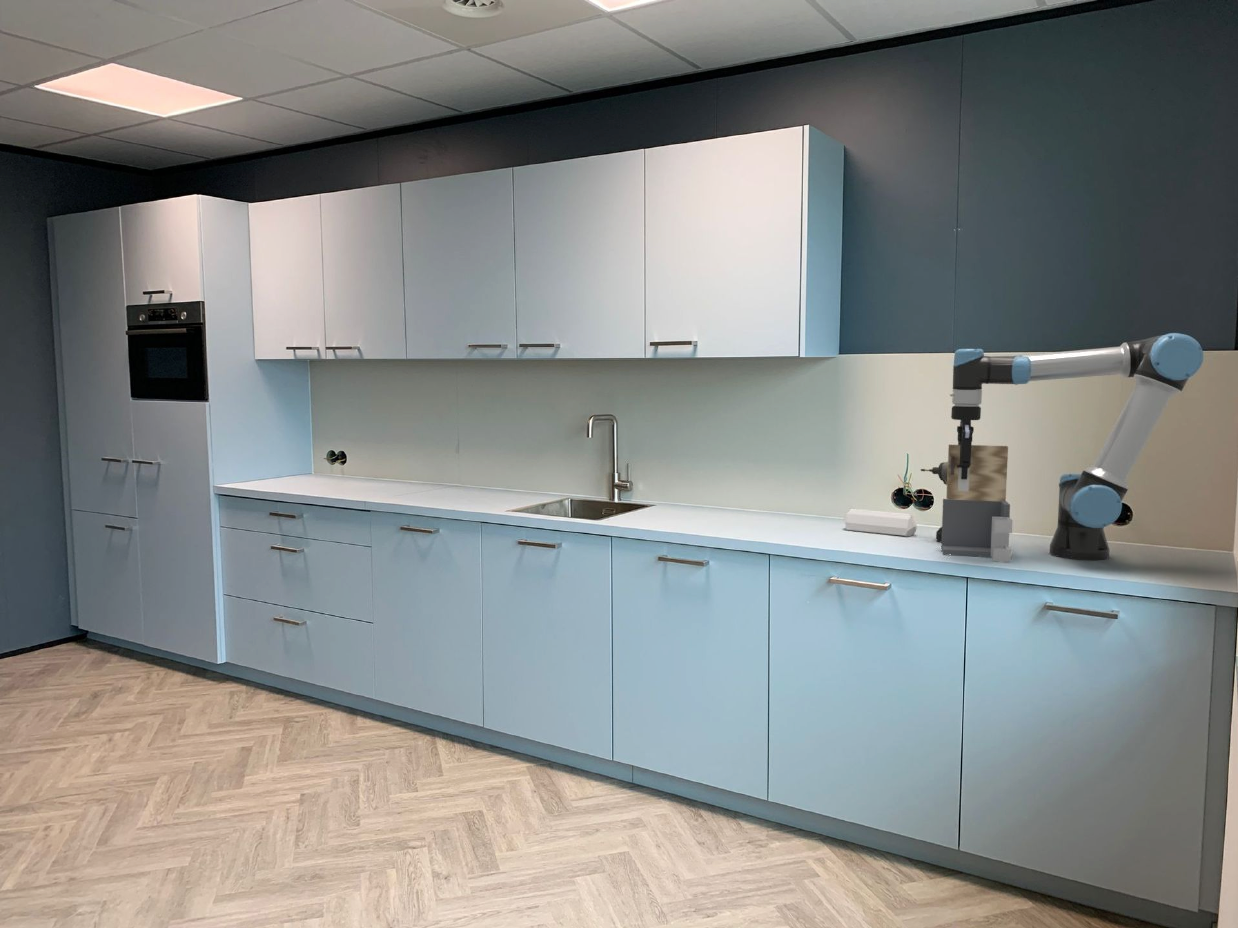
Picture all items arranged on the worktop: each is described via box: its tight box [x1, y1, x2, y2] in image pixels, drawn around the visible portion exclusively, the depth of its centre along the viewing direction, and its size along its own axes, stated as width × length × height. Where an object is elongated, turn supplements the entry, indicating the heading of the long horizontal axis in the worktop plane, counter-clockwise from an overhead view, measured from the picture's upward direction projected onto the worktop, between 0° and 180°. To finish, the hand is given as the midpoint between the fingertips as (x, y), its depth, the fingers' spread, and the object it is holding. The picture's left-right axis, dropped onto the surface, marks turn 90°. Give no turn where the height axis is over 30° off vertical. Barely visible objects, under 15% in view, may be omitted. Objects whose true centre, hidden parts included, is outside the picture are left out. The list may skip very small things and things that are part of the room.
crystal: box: [843, 508, 918, 538], centre depth 295 cm, size 7×7×24 cm
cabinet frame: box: [940, 498, 1013, 563], centre depth 256 cm, size 17×14×15 cm
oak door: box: [945, 444, 1009, 502], centre depth 250 cm, size 15×4×15 cm, turn 74°
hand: (962, 490), depth 252 cm, fingers closed on oak door, 3 cm apart
